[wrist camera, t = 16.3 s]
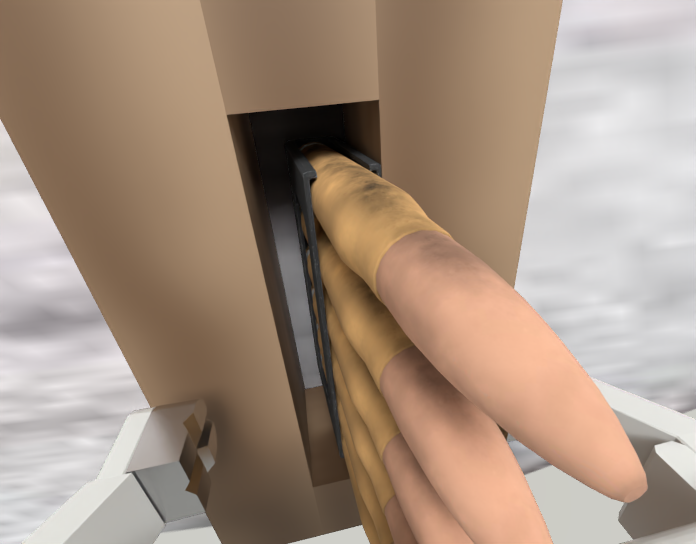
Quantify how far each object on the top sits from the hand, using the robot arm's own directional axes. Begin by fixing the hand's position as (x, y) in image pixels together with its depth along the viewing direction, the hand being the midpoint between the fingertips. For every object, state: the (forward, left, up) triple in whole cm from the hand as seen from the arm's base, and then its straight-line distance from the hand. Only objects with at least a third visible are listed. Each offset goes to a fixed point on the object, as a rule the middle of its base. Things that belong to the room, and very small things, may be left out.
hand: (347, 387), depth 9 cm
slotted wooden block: (0, 0, -7) cm, 7 cm away
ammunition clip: (0, 0, -7) cm, 7 cm away
